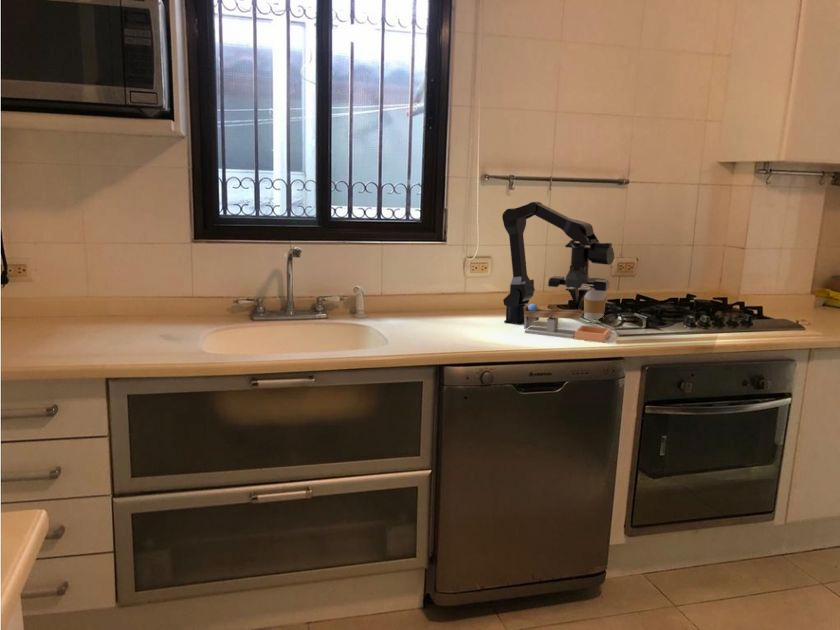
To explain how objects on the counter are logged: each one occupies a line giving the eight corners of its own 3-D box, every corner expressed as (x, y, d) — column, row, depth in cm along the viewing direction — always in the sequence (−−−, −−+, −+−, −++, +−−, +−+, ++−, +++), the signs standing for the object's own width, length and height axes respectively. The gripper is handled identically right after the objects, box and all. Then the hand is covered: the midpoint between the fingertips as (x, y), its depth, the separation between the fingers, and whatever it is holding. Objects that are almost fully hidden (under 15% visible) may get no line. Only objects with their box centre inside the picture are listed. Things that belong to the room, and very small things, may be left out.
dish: (574, 339, 207) (574, 331, 206) (581, 333, 215) (582, 325, 214) (604, 342, 202) (604, 334, 202) (610, 336, 210) (610, 328, 210)
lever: (523, 321, 215) (523, 307, 215) (533, 316, 224) (533, 302, 223) (578, 323, 207) (578, 308, 206) (586, 317, 216) (586, 303, 215)
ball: (526, 314, 216) (525, 304, 215) (529, 312, 218) (528, 303, 218) (536, 313, 214) (535, 304, 214) (539, 312, 217) (538, 302, 216)
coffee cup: (606, 324, 227) (609, 282, 224) (581, 323, 229) (584, 281, 225) (604, 319, 235) (607, 278, 232) (581, 318, 237) (583, 277, 233)
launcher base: (522, 332, 215) (522, 317, 214) (529, 327, 222) (530, 313, 221) (573, 338, 207) (573, 323, 206) (579, 333, 214) (580, 318, 213)
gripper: (544, 262, 209) (542, 310, 212) (603, 267, 200) (600, 316, 204) (554, 259, 218) (552, 305, 222) (611, 262, 210) (608, 310, 213)
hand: (577, 309), depth 215 cm, fingers closed
